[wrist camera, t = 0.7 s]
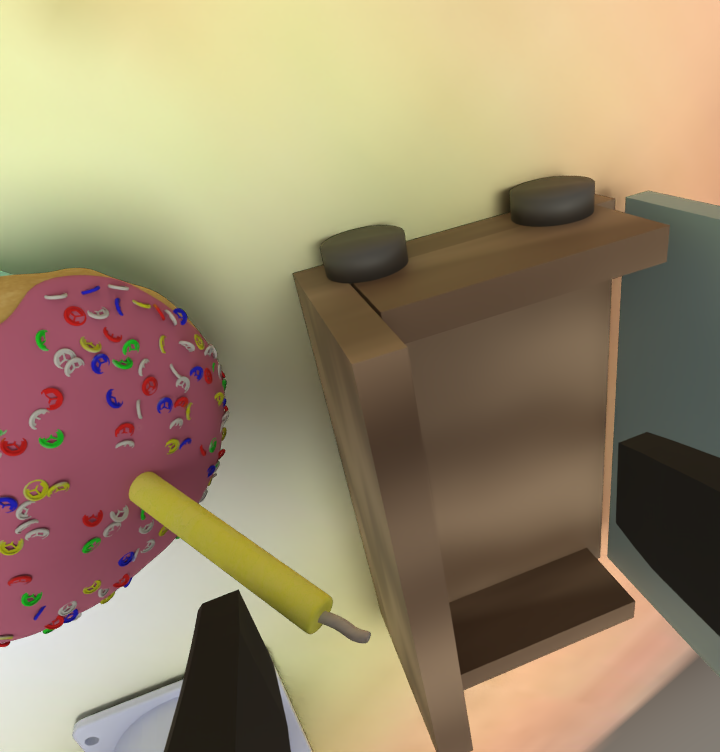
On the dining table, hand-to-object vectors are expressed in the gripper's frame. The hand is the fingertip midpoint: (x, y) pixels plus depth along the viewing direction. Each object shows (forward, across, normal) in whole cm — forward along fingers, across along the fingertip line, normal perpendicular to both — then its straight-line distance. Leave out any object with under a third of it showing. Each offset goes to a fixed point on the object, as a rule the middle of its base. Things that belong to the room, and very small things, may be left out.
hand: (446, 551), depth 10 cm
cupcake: (+8, +9, -4) cm, 13 cm away
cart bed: (+10, -4, +6) cm, 12 cm away
